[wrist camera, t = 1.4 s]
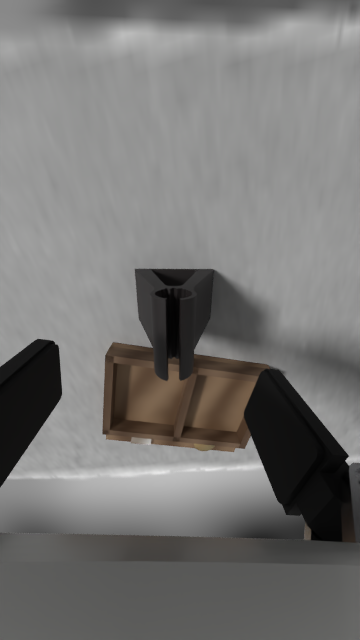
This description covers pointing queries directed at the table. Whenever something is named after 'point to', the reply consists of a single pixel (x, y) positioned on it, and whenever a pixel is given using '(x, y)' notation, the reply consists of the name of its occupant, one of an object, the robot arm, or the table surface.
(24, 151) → the table surface
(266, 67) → the table surface
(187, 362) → the phone stand
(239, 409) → the bay board
